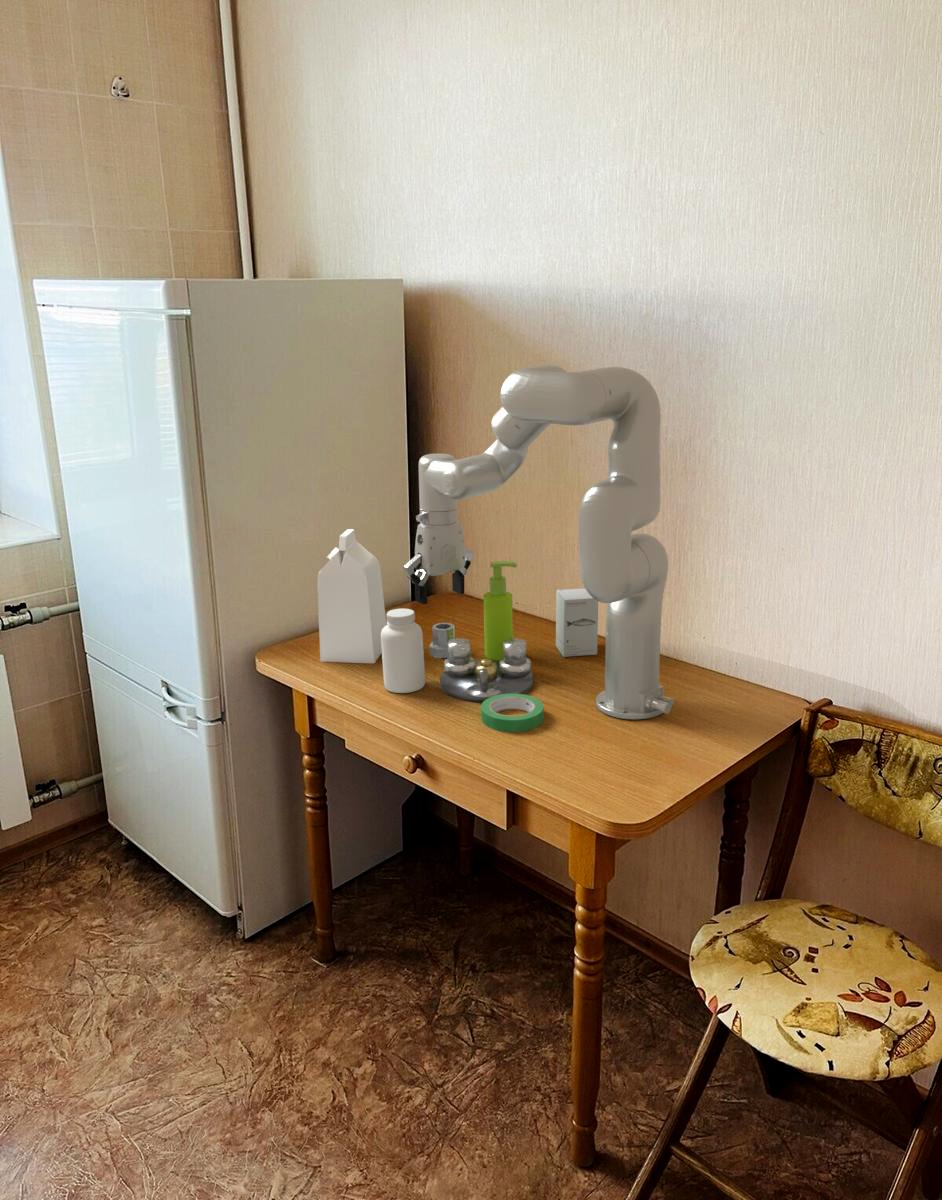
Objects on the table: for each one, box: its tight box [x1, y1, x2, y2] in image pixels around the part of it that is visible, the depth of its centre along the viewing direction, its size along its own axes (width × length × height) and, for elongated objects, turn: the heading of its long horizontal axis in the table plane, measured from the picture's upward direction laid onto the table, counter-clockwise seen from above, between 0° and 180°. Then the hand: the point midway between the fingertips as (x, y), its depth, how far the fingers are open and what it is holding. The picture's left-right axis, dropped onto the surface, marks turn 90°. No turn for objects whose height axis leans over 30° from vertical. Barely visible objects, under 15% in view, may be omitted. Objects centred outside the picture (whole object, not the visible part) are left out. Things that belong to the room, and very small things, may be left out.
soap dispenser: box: [483, 560, 518, 660], centre depth 195 cm, size 6×7×20 cm
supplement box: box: [555, 587, 599, 658], centre depth 197 cm, size 7×7×13 cm
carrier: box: [439, 637, 534, 703], centre depth 183 cm, size 18×18×7 cm
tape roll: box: [480, 694, 545, 733], centre depth 168 cm, size 11×11×3 cm
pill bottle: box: [381, 608, 426, 694], centre depth 181 cm, size 8×8×15 cm
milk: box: [316, 528, 387, 664], centre depth 198 cm, size 12×12×26 cm
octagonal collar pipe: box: [429, 622, 456, 659], centre depth 199 cm, size 6×6×6 cm
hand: (440, 597), depth 196 cm, fingers open, 9 cm apart
